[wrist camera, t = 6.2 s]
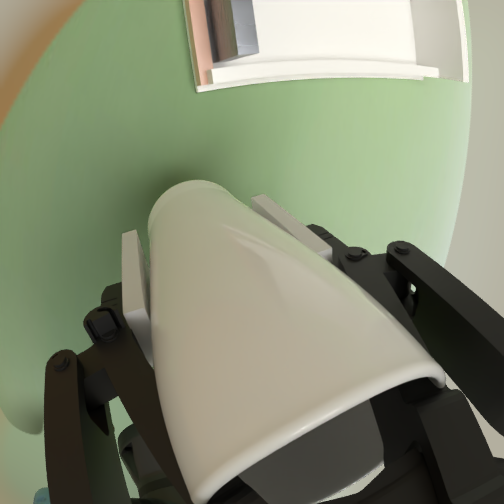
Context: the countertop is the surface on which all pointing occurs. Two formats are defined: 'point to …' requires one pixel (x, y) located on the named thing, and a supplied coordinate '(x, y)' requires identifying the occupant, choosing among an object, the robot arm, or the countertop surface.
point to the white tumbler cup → (266, 352)
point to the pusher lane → (337, 42)
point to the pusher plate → (231, 29)
